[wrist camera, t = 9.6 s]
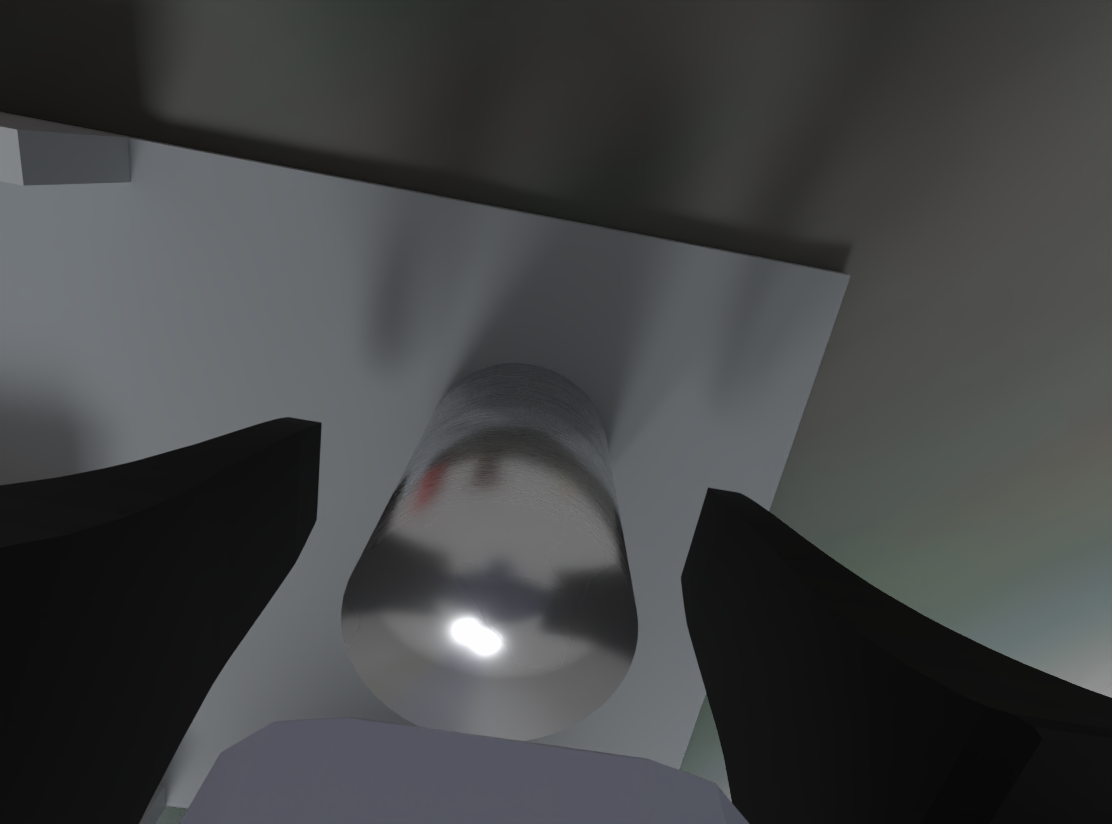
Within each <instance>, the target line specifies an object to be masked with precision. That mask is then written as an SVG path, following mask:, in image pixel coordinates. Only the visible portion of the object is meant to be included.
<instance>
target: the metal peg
mask: <svg viewBox="0 0 1112 824" xmlns="http://www.w3.org/2000/svg"><path fill="white" fill-rule="evenodd" d="M341 628H342V634H343V640H344V644H345V647H346V650H347V653H348V656H349V658H350V660H351V662H352V664H353V666H354V668H355V670H356V672H357V673H358V675H359V676H360V678H361V679H362V681H363V682H364V684H365V685H366V686H367V687H368V688H369V689H370V691H371V692H372V693H373V694H374V695H375V696H376V697H377V698H378V699H379V700H380V701H381V702H383V703H384V704H385V705H386V706H387V707H388V708H389V709H391V710H392V711H394V712H395V713H397V714H398V715H400V716H401V717H403V718H404V719H406V720H408V721H410V722H412V723H414V724H415V725H417V726H419V727H426V728H433V729H441V730H448V731H455V732H462V733H469V734H476V735H483V736H490V737H497V738H505V739H512V740H519V741H527V740H532V739H537V738H541V737H544V736H547V735H551V734H554V733H557V732H559V731H562V730H564V729H566V728H568V727H571V726H573V725H575V724H576V723H578V722H580V721H581V720H583V719H585V718H586V717H588V716H589V715H591V714H592V713H593V712H594V711H596V710H597V709H598V708H600V707H601V706H602V705H603V704H604V703H605V702H606V701H607V700H608V699H609V698H610V697H611V696H612V695H613V694H614V692H615V691H616V690H617V688H618V687H619V686H620V684H621V683H622V681H623V680H624V678H625V676H626V674H627V672H628V671H629V668H630V666H631V663H632V660H633V658H634V655H635V651H636V646H637V641H638V617H637V609H636V603H635V597H634V592H633V586H632V580H631V574H630V569H629V563H628V557H627V552H626V546H625V540H624V535H623V529H622V523H621V518H620V512H619V506H618V501H617V495H616V489H615V484H614V478H613V472H612V467H611V461H610V455H609V450H608V444H607V438H606V433H605V429H604V425H603V422H602V419H601V417H600V415H599V412H598V410H597V409H596V407H595V405H594V404H593V402H592V401H591V400H590V398H589V397H588V396H587V395H586V393H585V392H584V391H583V390H582V389H580V388H579V387H578V386H577V385H576V384H575V383H573V382H572V381H571V380H569V379H568V378H566V377H565V376H563V375H561V374H559V373H557V372H555V371H552V370H550V369H547V368H544V367H540V366H536V365H532V364H523V363H506V364H499V365H494V366H490V367H486V368H483V369H481V370H478V371H476V372H474V373H472V374H470V375H468V376H467V377H465V378H463V379H462V380H461V381H459V382H458V383H457V384H455V385H454V386H453V387H452V388H451V389H450V390H449V391H448V392H447V393H446V394H445V396H444V397H443V399H442V400H441V401H440V403H439V404H438V406H437V408H436V410H435V412H434V414H433V416H432V418H431V420H430V422H429V424H428V426H427V428H426V430H425V432H424V433H423V435H422V437H421V439H420V441H419V443H418V445H417V447H416V449H415V451H414V453H413V455H412V457H411V459H410V461H409V463H408V465H407V467H406V469H405V471H404V473H403V475H402V476H401V478H400V480H399V482H398V484H397V486H396V488H395V490H394V492H393V494H392V496H391V498H390V500H389V502H388V504H387V506H386V508H385V510H384V512H383V514H382V516H381V517H380V519H379V521H378V523H377V525H376V527H375V529H374V531H373V533H372V535H371V537H370V539H369V541H368V543H367V545H366V547H365V549H364V551H363V553H362V555H361V557H360V558H359V560H358V562H357V564H356V566H355V568H354V570H353V572H352V574H351V576H350V578H349V580H348V583H347V586H346V589H345V592H344V596H343V602H342V608H341Z"/></svg>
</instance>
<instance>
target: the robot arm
mask: <svg viewBox="0 0 1112 824" xmlns="http://www.w3.org/2000/svg"><path fill="white" fill-rule="evenodd" d="M321 428H322V423H321V422H315V421H309V420H303V419H297V418H291V417H285V418H279V419H274V420H270V421H267V422H263V423H260V424H257V425H253V426H250V427H247V428H244V429H241V430H238V431H235V432H231V433H228V434H225V435H222V436H219V437H216V438H213V439H210V440H206V441H203V442H200V443H197V444H194V445H190V446H187V447H183V448H180V449H176V450H173V451H169V452H165V453H162V454H158V455H155V456H151V457H148V458H144V459H141V460H137V461H133V462H129V463H125V464H121V465H116V466H112V467H107V468H103V469H98V470H93V471H88V472H83V473H77V474H72V475H67V476H62V477H56V478H50V479H42V480H35V481H28V482H21V483H13V484H6V485H0V824H139V823H140V821H141V819H142V817H143V815H144V813H145V811H146V809H147V807H148V805H149V803H150V801H151V799H152V797H153V795H154V793H155V791H156V789H157V787H158V786H159V784H160V782H161V780H162V778H163V776H164V774H165V772H166V770H167V768H168V766H169V764H170V762H171V761H172V759H173V757H174V755H175V753H176V751H177V749H178V747H179V745H180V743H181V741H182V739H183V738H184V736H185V734H186V732H187V730H188V729H189V727H190V725H191V723H192V721H193V719H194V718H195V716H196V714H197V712H198V710H199V709H200V707H201V705H202V703H203V701H204V700H205V698H206V696H207V694H208V692H209V690H210V689H211V687H212V685H213V683H214V682H215V680H216V679H217V677H218V676H219V674H220V672H221V671H222V669H223V668H224V666H225V665H226V663H227V661H228V660H229V659H230V657H231V656H232V654H233V653H234V651H235V650H236V649H237V647H238V646H239V644H240V643H241V641H242V640H243V639H244V637H245V636H246V634H247V633H248V631H249V630H250V629H251V627H252V626H253V624H254V623H255V621H256V620H257V619H258V617H259V616H260V614H261V613H262V611H263V610H264V609H265V607H266V606H267V604H268V603H269V601H270V600H271V599H272V597H273V596H274V594H275V593H276V591H277V590H278V588H279V587H280V585H281V584H282V583H283V581H284V580H285V578H286V577H287V575H288V574H289V572H290V571H291V569H292V568H293V566H294V565H295V563H296V561H297V559H298V557H299V555H300V554H301V552H302V550H303V548H304V546H305V544H306V542H307V540H308V537H309V535H310V533H311V531H312V529H313V527H314V525H315V523H316V521H317V507H318V487H319V468H320V448H321ZM681 585H682V594H683V602H684V609H685V616H686V622H687V627H688V630H689V634H690V638H691V641H692V645H693V648H694V652H695V656H696V659H697V663H698V666H699V669H700V673H701V676H702V680H703V683H704V686H705V690H706V693H707V697H708V700H709V703H710V707H711V710H712V714H713V717H714V721H715V724H716V727H717V731H718V735H719V739H720V743H721V747H722V751H723V755H724V760H725V765H726V771H727V776H728V782H729V787H730V793H731V799H732V802H731V801H730V800H729V799H728V798H727V796H726V795H725V794H724V793H723V791H722V790H721V789H720V788H719V787H718V785H717V784H716V783H713V782H711V781H708V780H706V779H703V778H700V777H697V776H695V775H692V774H689V773H686V772H684V771H681V770H678V769H675V768H673V767H670V766H667V765H664V764H661V763H659V762H656V761H653V760H650V759H647V758H640V757H632V756H625V755H618V754H611V753H604V752H597V751H590V750H583V749H576V748H569V747H561V746H554V745H547V744H540V743H533V742H526V741H519V740H512V739H505V738H497V737H490V736H483V735H476V734H469V733H462V732H455V731H448V730H441V729H433V728H426V727H419V726H412V725H405V724H398V723H391V722H384V721H377V720H369V719H362V718H355V717H336V718H319V719H301V720H285V721H277V722H272V723H270V724H269V725H267V726H265V727H264V728H262V729H260V730H258V731H257V732H255V733H253V734H252V735H250V736H248V737H246V738H245V739H243V740H241V741H240V742H238V743H236V744H234V745H233V746H231V747H229V748H227V749H226V750H224V751H222V752H221V753H220V754H219V756H218V758H217V759H216V761H215V763H214V765H213V766H212V768H211V770H210V772H209V773H208V775H207V777H206V778H205V780H204V782H203V784H202V785H201V787H200V789H199V791H198V792H197V794H196V796H195V797H194V799H193V801H192V803H191V804H190V806H189V808H188V809H187V811H186V813H185V815H184V816H183V818H182V820H181V822H180V823H179V824H1112V698H1110V697H1108V696H1105V695H1102V694H1099V693H1096V692H1093V691H1090V690H1088V689H1085V688H1082V687H1080V686H1077V685H1075V684H1072V683H1070V682H1067V681H1065V680H1062V679H1060V678H1057V677H1055V676H1053V675H1050V674H1048V673H1045V672H1043V671H1040V670H1038V669H1035V668H1033V667H1030V666H1028V665H1026V664H1023V663H1021V662H1019V661H1017V660H1014V659H1012V658H1010V657H1007V656H1005V655H1003V654H1001V653H998V652H996V651H994V650H992V649H990V648H988V647H985V646H983V645H981V644H979V643H977V642H975V641H973V640H971V639H969V638H967V637H965V636H963V635H961V634H959V633H957V632H955V631H953V630H951V629H949V628H947V627H945V626H943V625H941V624H939V623H937V622H935V621H933V620H931V619H929V618H928V617H926V616H924V615H922V614H920V613H918V612H917V611H915V610H913V609H912V608H910V607H908V606H906V605H905V604H903V603H901V602H899V601H898V600H896V599H894V598H892V597H891V596H889V595H887V594H886V593H884V592H882V591H881V590H879V589H877V588H876V587H874V586H873V585H871V584H869V583H868V582H866V581H865V580H863V579H862V578H860V577H859V576H857V575H856V574H854V573H853V572H851V571H850V570H848V569H847V568H846V567H844V566H843V565H841V564H840V563H838V562H837V561H835V560H834V559H832V558H831V557H830V556H828V555H827V554H825V553H824V552H823V551H821V550H820V549H818V548H817V547H816V546H814V545H813V544H812V543H810V542H809V541H808V540H806V539H805V538H804V537H802V536H801V535H800V534H798V533H797V532H796V531H794V530H793V529H792V528H790V527H789V526H788V525H786V524H785V523H784V522H782V521H781V520H780V519H778V518H777V517H776V516H774V515H773V514H772V513H770V512H769V511H768V510H766V509H765V508H763V507H762V506H761V505H759V504H758V503H756V502H755V501H753V500H752V499H750V498H748V497H747V496H745V495H743V494H741V493H738V492H732V491H726V490H720V489H715V488H709V487H708V489H707V493H706V496H705V499H704V503H703V506H702V509H701V512H700V516H699V519H698V522H697V526H696V529H695V532H694V535H693V539H692V542H691V545H690V549H689V552H688V555H687V558H686V562H685V565H684V568H683V572H682V575H681Z"/></svg>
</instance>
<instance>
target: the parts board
mask: <svg viewBox="0 0 1112 824" xmlns="http://www.w3.org/2000/svg"><path fill="white" fill-rule="evenodd" d="M850 277H851V275H848V274H845V273H843V272H837V271H832V270H827V269H822V268H816V267H811V266H806V265H801V264H795V263H790V262H785V261H780V260H775V259H769V258H764V257H759V256H754V255H748V254H743V253H738V252H733V251H727V250H722V249H717V248H712V247H706V246H701V245H696V244H691V243H685V242H680V241H675V240H670V239H664V238H659V237H654V236H649V235H644V234H638V233H633V232H628V231H623V230H617V229H612V228H607V227H602V226H596V225H591V224H586V223H581V222H575V221H570V220H565V219H560V218H554V217H549V216H544V215H539V214H534V213H528V212H523V211H518V210H513V209H507V208H502V207H497V206H492V205H486V204H481V203H476V202H471V201H465V200H460V199H455V198H450V197H444V196H439V195H434V194H429V193H423V192H418V191H413V190H408V189H403V188H397V187H392V186H387V185H382V184H376V183H371V182H366V181H361V180H355V179H350V178H345V177H340V176H334V175H329V174H324V173H319V172H313V171H308V170H303V169H298V168H293V167H287V166H282V165H277V164H272V163H266V162H261V161H256V160H251V159H245V158H240V157H235V156H230V155H224V154H219V153H214V152H209V151H203V150H198V149H193V148H188V147H183V146H177V145H172V144H167V143H162V142H156V141H151V140H146V139H141V138H135V137H130V136H125V135H120V134H114V133H109V132H104V131H99V130H93V129H88V128H83V127H78V126H72V125H67V124H62V123H57V122H52V121H46V120H41V119H36V118H31V117H25V116H20V115H15V114H10V113H4V112H0V485H6V484H13V483H21V482H28V481H35V480H42V479H50V478H56V477H62V476H67V475H72V474H77V473H83V472H88V471H93V470H98V469H103V468H107V467H112V466H116V465H121V464H125V463H129V462H133V461H137V460H141V459H144V458H148V457H151V456H155V455H158V454H162V453H165V452H169V451H173V450H176V449H180V448H183V447H187V446H190V445H194V444H197V443H200V442H203V441H206V440H210V439H213V438H216V437H219V436H222V435H225V434H228V433H231V432H235V431H238V430H241V429H244V428H247V427H250V426H253V425H257V424H260V423H263V422H267V421H270V420H274V419H279V418H285V417H291V418H297V419H303V420H309V421H315V422H321V423H322V428H321V448H320V468H319V487H318V507H317V521H316V523H315V525H314V527H313V529H312V531H311V533H310V535H309V537H308V540H307V542H306V544H305V546H304V548H303V550H302V552H301V554H300V555H299V557H298V559H297V561H296V563H295V565H294V566H293V568H292V569H291V571H290V572H289V574H288V575H287V577H286V578H285V580H284V581H283V583H282V584H281V585H280V587H279V588H278V590H277V591H276V593H275V594H274V596H273V597H272V599H271V600H270V601H269V603H268V604H267V606H266V607H265V609H264V610H263V611H262V613H261V614H260V616H259V617H258V619H257V620H256V621H255V623H254V624H253V626H252V627H251V629H250V630H249V631H248V633H247V634H246V636H245V637H244V639H243V640H242V641H241V643H240V644H239V646H238V647H237V649H236V650H235V651H234V653H233V654H232V656H231V657H230V659H229V660H228V661H227V663H226V665H225V666H224V668H223V669H222V671H221V672H220V674H219V676H218V677H217V679H216V680H215V682H214V683H213V685H212V687H211V689H210V690H209V692H208V694H207V696H206V698H205V700H204V701H203V703H202V705H201V707H200V709H199V710H198V712H197V714H196V716H195V718H194V719H193V721H192V723H191V725H190V727H189V729H188V730H187V732H186V734H185V736H184V738H183V739H182V741H181V743H180V745H179V747H178V749H177V751H176V753H175V755H174V757H173V759H172V761H171V762H170V764H169V766H168V768H167V770H166V772H165V774H164V776H163V778H162V780H161V782H160V784H159V786H158V787H157V789H156V791H155V793H154V795H153V797H152V799H151V801H150V803H149V805H148V807H147V809H146V811H145V813H144V815H143V817H142V819H141V821H140V823H139V824H155V823H156V821H157V819H158V818H159V816H160V814H161V813H162V811H163V810H164V808H165V806H173V807H181V808H189V806H190V804H191V803H192V801H193V799H194V797H195V796H196V794H197V792H198V791H199V789H200V787H201V785H202V784H203V782H204V780H205V778H206V777H207V775H208V773H209V772H210V770H211V768H212V766H213V765H214V763H215V761H216V759H217V758H218V756H219V754H220V753H221V752H222V751H224V750H226V749H227V748H229V747H231V746H233V745H234V744H236V743H238V742H240V741H241V740H243V739H245V738H246V737H248V736H250V735H252V734H253V733H255V732H257V731H258V730H260V729H262V728H264V727H265V726H267V725H269V724H270V723H272V722H277V721H285V720H301V719H319V718H336V717H355V718H362V719H369V720H377V721H384V722H391V723H398V724H405V725H412V726H417V725H415V724H414V723H412V722H410V721H408V720H406V719H404V718H403V717H401V716H400V715H398V714H397V713H395V712H394V711H392V710H391V709H389V708H388V707H387V706H386V705H385V704H384V703H383V702H381V701H380V700H379V699H378V698H377V697H376V696H375V695H374V694H373V693H372V692H371V691H370V689H369V688H368V687H367V686H366V685H365V684H364V682H363V681H362V679H361V678H360V676H359V675H358V673H357V672H356V670H355V668H354V666H353V664H352V662H351V660H350V658H349V656H348V653H347V650H346V647H345V644H344V640H343V634H342V628H341V608H342V602H343V596H344V592H345V589H346V586H347V583H348V580H349V578H350V576H351V574H352V572H353V570H354V568H355V566H356V564H357V562H358V560H359V558H360V557H361V555H362V553H363V551H364V549H365V547H366V545H367V543H368V541H369V539H370V537H371V535H372V533H373V531H374V529H375V527H376V525H377V523H378V521H379V519H380V517H381V516H382V514H383V512H384V510H385V508H386V506H387V504H388V502H389V500H390V498H391V496H392V494H393V492H394V490H395V488H396V486H397V484H398V482H399V480H400V478H401V476H402V475H403V473H404V471H405V469H406V467H407V465H408V463H409V461H410V459H411V457H412V455H413V453H414V451H415V449H416V447H417V445H418V443H419V441H420V439H421V437H422V435H423V433H424V432H425V430H426V428H427V426H428V424H429V422H430V420H431V418H432V416H433V414H434V412H435V410H436V408H437V406H438V404H439V403H440V401H441V400H442V399H443V397H444V396H445V394H446V393H447V392H448V391H449V390H450V389H451V388H452V387H453V386H454V385H455V384H457V383H458V382H459V381H461V380H462V379H463V378H465V377H467V376H468V375H470V374H472V373H474V372H476V371H478V370H481V369H483V368H486V367H490V366H494V365H499V364H506V363H523V364H532V365H536V366H540V367H544V368H547V369H550V370H552V371H555V372H557V373H559V374H561V375H563V376H565V377H566V378H568V379H569V380H571V381H572V382H573V383H575V384H576V385H577V386H578V387H579V388H580V389H582V390H583V391H584V392H585V393H586V395H587V396H588V397H589V398H590V400H591V401H592V402H593V404H594V405H595V407H596V409H597V410H598V412H599V415H600V417H601V419H602V422H603V425H604V429H605V433H606V438H607V444H608V450H609V455H610V461H611V467H612V472H613V478H614V484H615V489H616V495H617V501H618V506H619V512H620V518H621V523H622V529H623V535H624V540H625V546H626V552H627V557H628V563H629V569H630V574H631V580H632V586H633V592H634V597H635V603H636V609H637V617H638V641H637V646H636V651H635V655H634V658H633V660H632V663H631V666H630V668H629V671H628V672H627V674H626V676H625V678H624V680H623V681H622V683H621V684H620V686H619V687H618V688H617V690H616V691H615V692H614V694H613V695H612V696H611V697H610V698H609V699H608V700H607V701H606V702H605V703H604V704H603V705H602V706H601V707H600V708H598V709H597V710H596V711H594V712H593V713H592V714H591V715H589V716H588V717H586V718H585V719H583V720H581V721H580V722H578V723H576V724H575V725H573V726H571V727H568V728H566V729H564V730H562V731H559V732H557V733H554V734H551V735H547V736H544V737H541V738H537V739H532V740H527V741H526V742H533V743H540V744H547V745H554V746H561V747H569V748H576V749H583V750H590V751H597V752H604V753H611V754H618V755H625V756H632V757H640V758H647V759H650V760H653V761H656V762H659V763H661V764H664V765H667V766H670V767H673V768H675V769H678V770H679V769H680V767H681V764H682V761H683V758H684V755H685V752H686V749H687V746H688V744H689V741H690V738H691V735H692V732H693V729H694V726H695V723H696V720H697V718H698V715H699V712H700V709H701V706H702V703H703V700H704V697H705V695H706V690H705V686H704V683H703V680H702V676H701V673H700V669H699V666H698V663H697V659H696V656H695V652H694V648H693V645H692V641H691V638H690V634H689V630H688V627H687V622H686V616H685V609H684V602H683V594H682V585H681V575H682V572H683V568H684V565H685V562H686V558H687V555H688V552H689V549H690V545H691V542H692V539H693V535H694V532H695V529H696V526H697V522H698V519H699V516H700V512H701V509H702V506H703V503H704V499H705V496H706V493H707V489H708V487H709V488H715V489H720V490H726V491H732V492H738V493H741V494H743V495H745V496H747V497H748V498H750V499H752V500H753V501H755V502H756V503H758V504H759V505H761V506H762V507H763V508H765V509H766V510H768V511H769V510H770V507H771V504H772V502H773V499H774V496H775V493H776V490H777V487H778V484H779V481H780V478H781V476H782V473H783V470H784V467H785V464H786V461H787V458H788V455H789V453H790V450H791V447H792V444H793V441H794V438H795V435H796V432H797V430H798V427H799V424H800V421H801V418H802V415H803V412H804V409H805V406H806V404H807V401H808V398H809V395H810V392H811V389H812V386H813V383H814V381H815V378H816V375H817V372H818V369H819V366H820V363H821V360H822V357H823V355H824V352H825V349H826V346H827V343H828V340H829V337H830V334H831V332H832V329H833V326H834V323H835V320H836V317H837V314H838V311H839V309H840V306H841V303H842V300H843V297H844V294H845V291H846V288H847V285H848V283H849V280H850Z"/></svg>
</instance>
